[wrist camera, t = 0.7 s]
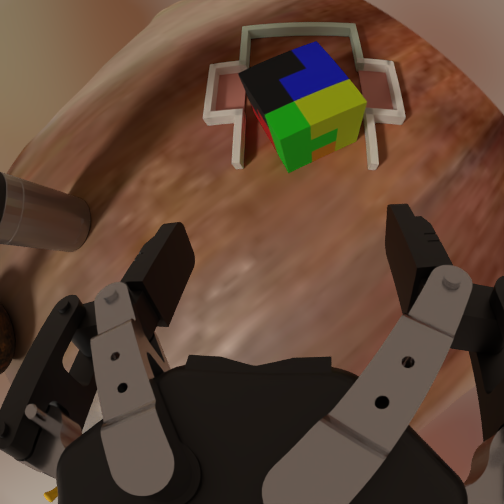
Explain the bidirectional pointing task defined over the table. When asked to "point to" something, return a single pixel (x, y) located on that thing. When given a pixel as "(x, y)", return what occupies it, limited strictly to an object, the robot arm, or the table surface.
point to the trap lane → (370, 70)
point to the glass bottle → (6, 340)
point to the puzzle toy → (304, 104)
